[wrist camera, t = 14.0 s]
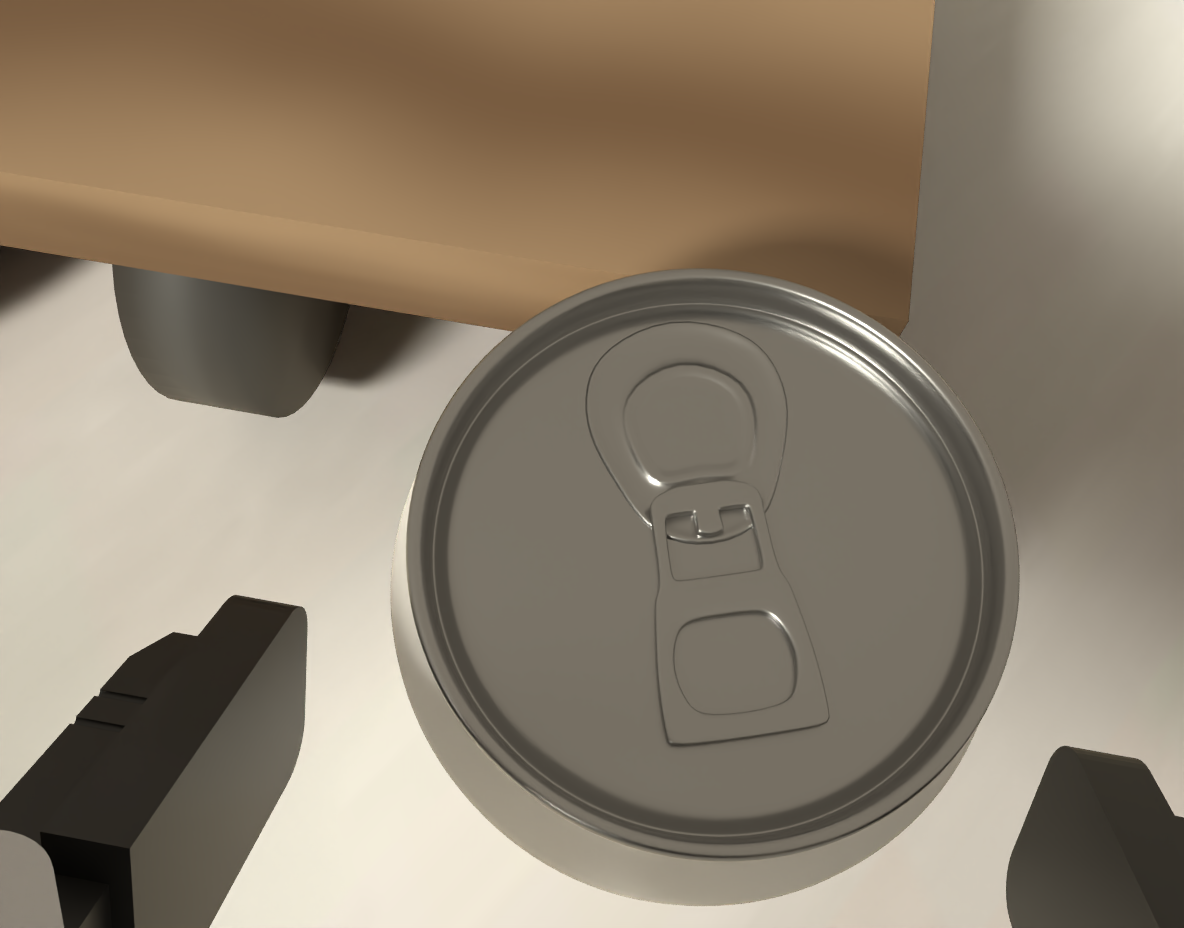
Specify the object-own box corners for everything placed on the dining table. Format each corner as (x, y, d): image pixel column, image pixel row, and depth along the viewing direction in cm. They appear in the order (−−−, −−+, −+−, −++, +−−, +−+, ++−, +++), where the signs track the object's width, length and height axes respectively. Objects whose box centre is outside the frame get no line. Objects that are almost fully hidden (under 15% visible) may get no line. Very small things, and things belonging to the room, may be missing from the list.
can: (765, 531, 22) (963, 195, 11) (834, 856, 20) (1169, 855, 9) (458, 573, 22) (335, 268, 11) (492, 910, 20) (384, 979, 8)
